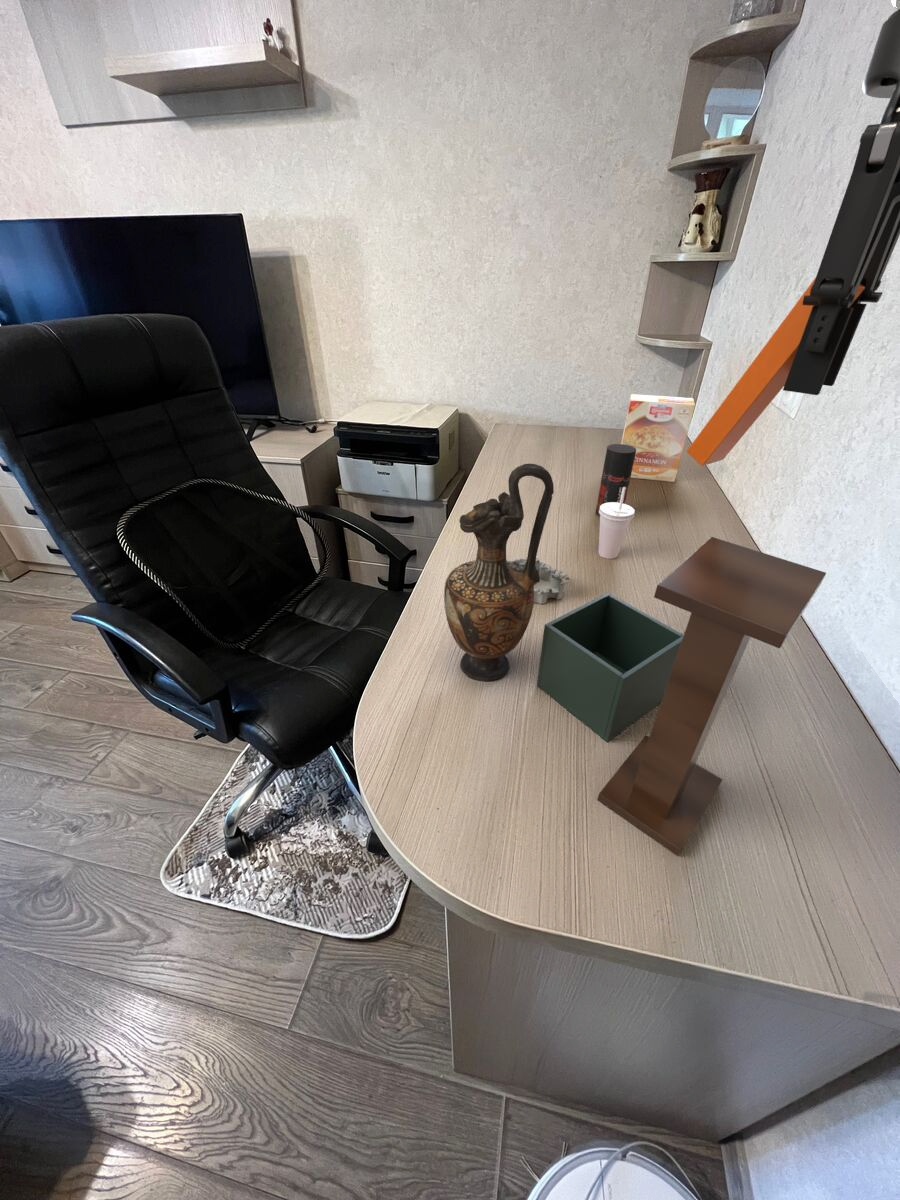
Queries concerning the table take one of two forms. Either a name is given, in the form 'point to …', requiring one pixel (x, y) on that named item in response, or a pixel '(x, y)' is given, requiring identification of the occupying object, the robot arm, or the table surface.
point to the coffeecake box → (657, 434)
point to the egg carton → (546, 581)
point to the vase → (495, 581)
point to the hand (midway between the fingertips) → (808, 386)
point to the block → (754, 388)
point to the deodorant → (616, 474)
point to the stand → (704, 679)
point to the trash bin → (607, 663)
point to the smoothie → (613, 526)
